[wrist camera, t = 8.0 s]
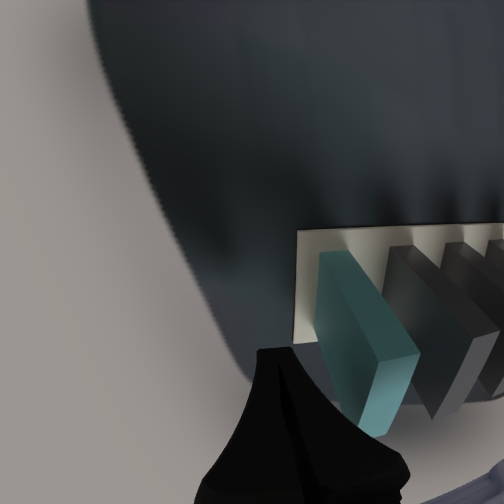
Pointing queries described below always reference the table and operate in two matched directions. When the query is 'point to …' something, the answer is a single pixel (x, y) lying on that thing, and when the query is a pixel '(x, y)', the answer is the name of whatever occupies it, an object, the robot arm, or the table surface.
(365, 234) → the mat
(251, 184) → the table surface
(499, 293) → the tile
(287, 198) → the table surface
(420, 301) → the tile
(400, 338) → the tile teal
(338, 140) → the table surface
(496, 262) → the tile
